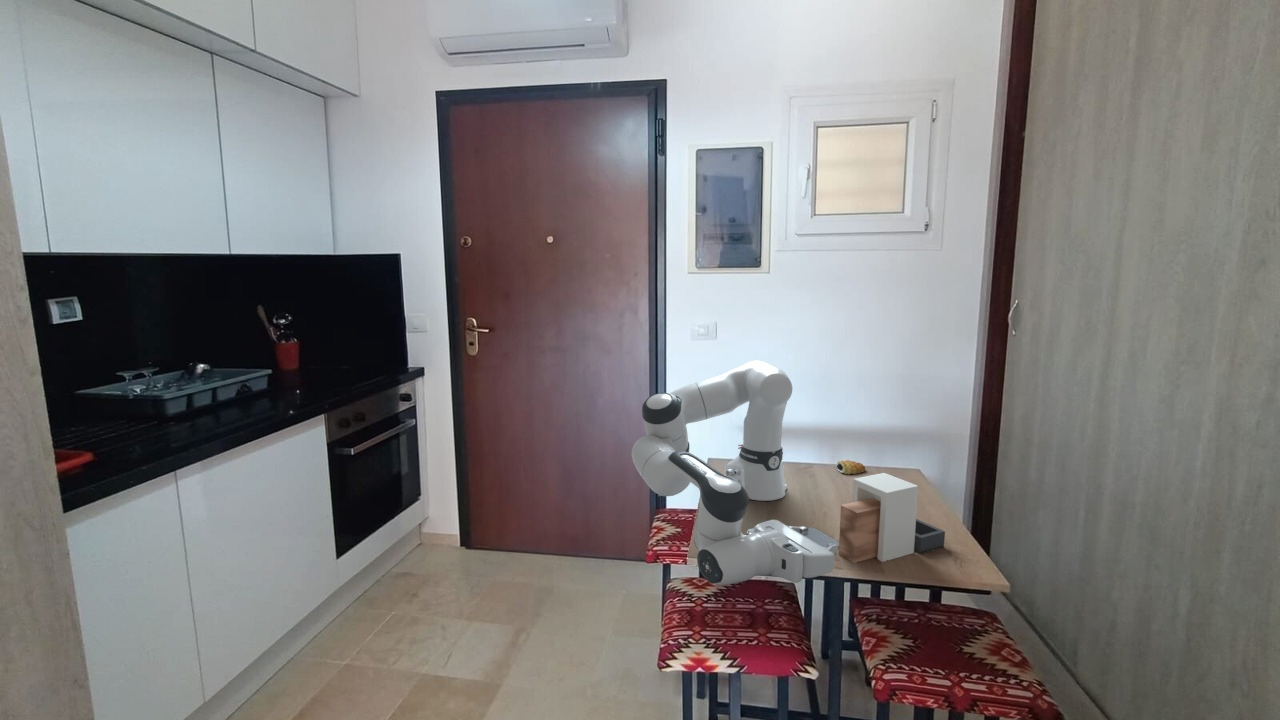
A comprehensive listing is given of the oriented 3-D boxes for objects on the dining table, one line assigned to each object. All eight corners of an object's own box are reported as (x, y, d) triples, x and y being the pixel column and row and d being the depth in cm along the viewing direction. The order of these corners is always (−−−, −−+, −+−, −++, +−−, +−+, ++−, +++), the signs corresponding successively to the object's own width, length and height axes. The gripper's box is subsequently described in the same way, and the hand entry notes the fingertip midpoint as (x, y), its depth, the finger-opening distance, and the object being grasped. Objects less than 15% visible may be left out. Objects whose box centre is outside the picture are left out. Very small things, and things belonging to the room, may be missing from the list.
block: (838, 553, 140) (841, 505, 138) (870, 545, 144) (872, 497, 142) (854, 562, 135) (857, 512, 133) (886, 553, 139) (889, 505, 137)
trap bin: (879, 533, 150) (880, 518, 149) (902, 527, 153) (903, 513, 153) (920, 554, 139) (921, 537, 138) (943, 547, 142) (945, 531, 142)
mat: (777, 537, 148) (777, 535, 148) (812, 529, 153) (812, 527, 153) (807, 556, 138) (807, 554, 138) (843, 546, 143) (843, 544, 143)
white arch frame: (849, 543, 144) (853, 478, 142) (880, 536, 148) (884, 472, 146) (882, 561, 135) (886, 492, 133) (913, 553, 140) (918, 485, 137)
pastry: (857, 467, 201) (858, 456, 200) (870, 474, 194) (870, 463, 194) (833, 469, 199) (833, 458, 198) (844, 476, 192) (845, 465, 192)
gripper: (741, 544, 137) (789, 533, 143) (801, 587, 118) (853, 572, 124) (742, 518, 136) (790, 508, 142) (802, 557, 117) (855, 543, 123)
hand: (820, 538), depth 133 cm, fingers open, 8 cm apart
